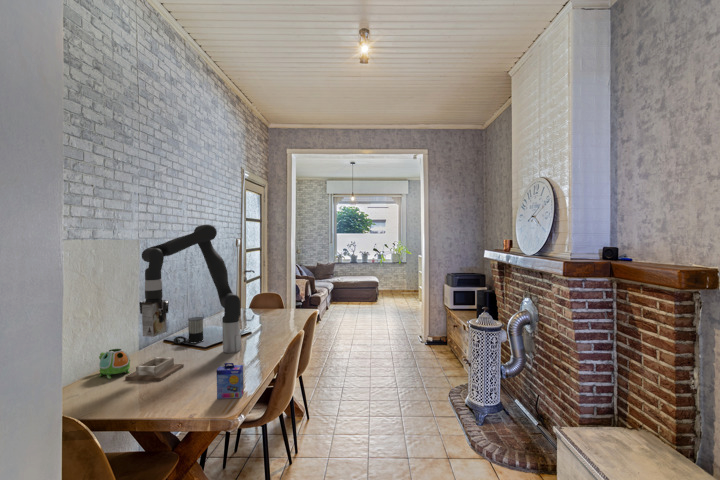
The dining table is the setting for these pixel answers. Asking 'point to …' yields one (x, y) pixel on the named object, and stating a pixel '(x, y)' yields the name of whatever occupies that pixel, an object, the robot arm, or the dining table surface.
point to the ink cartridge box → (230, 381)
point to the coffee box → (152, 319)
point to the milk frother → (193, 330)
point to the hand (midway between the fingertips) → (154, 322)
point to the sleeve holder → (155, 369)
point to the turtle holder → (114, 362)
